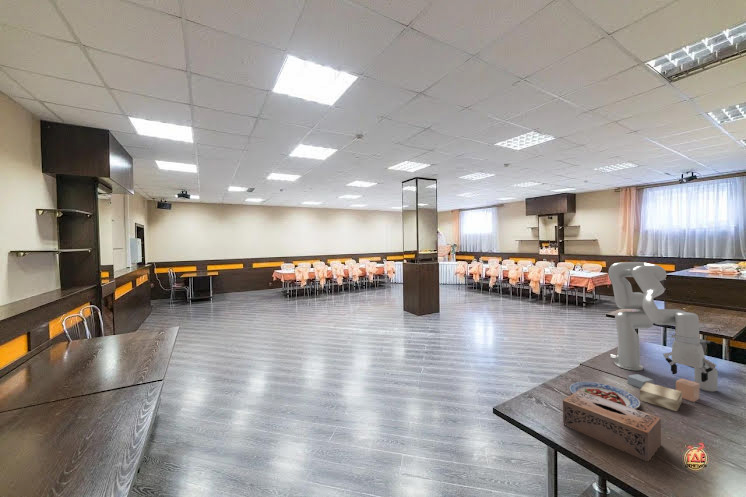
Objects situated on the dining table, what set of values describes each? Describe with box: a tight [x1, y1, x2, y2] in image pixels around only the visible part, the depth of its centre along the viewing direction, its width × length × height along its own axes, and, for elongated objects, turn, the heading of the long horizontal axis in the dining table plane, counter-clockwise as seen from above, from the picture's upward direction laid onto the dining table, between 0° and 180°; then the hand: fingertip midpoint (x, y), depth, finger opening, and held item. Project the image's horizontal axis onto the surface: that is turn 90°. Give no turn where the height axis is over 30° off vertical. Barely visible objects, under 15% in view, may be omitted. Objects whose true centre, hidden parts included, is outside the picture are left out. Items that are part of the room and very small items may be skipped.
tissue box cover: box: [562, 390, 662, 462], centre depth 113 cm, size 26×14×10 cm, turn 34°
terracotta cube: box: [675, 377, 700, 403], centre depth 138 cm, size 6×6×7 cm
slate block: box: [626, 373, 654, 389], centre depth 151 cm, size 7×7×4 cm
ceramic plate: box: [569, 381, 641, 410], centre depth 139 cm, size 26×26×3 cm
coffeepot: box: [689, 338, 719, 368], centre depth 171 cm, size 15×9×18 cm, turn 37°
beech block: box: [639, 382, 683, 412], centre depth 136 cm, size 12×12×5 cm
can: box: [694, 363, 719, 393], centre depth 146 cm, size 8×8×12 cm
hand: (688, 377), depth 138 cm, fingers open, 9 cm apart
